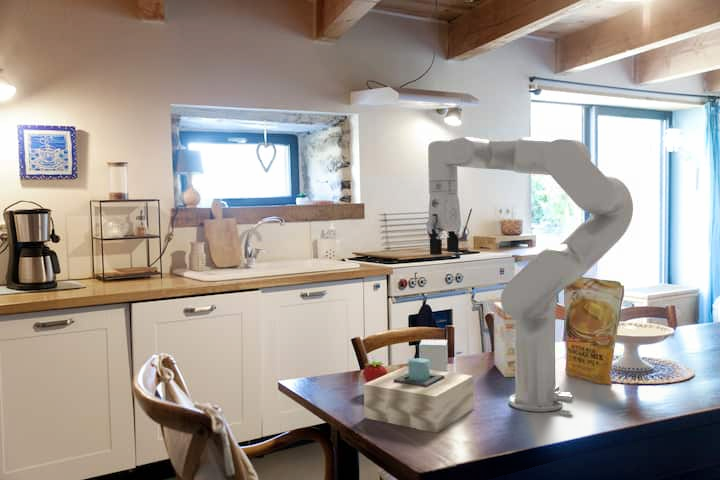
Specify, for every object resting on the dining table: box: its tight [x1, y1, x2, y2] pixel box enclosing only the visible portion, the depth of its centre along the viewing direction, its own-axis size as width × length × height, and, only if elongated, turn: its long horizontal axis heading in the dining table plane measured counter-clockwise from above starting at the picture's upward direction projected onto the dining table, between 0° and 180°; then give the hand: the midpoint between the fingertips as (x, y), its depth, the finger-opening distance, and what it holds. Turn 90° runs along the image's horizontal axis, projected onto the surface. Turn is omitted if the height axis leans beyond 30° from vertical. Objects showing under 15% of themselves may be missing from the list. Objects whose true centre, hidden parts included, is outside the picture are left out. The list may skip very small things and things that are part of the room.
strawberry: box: [363, 356, 388, 383], centre depth 165 cm, size 6×8×10 cm
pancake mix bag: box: [563, 276, 625, 386], centre depth 173 cm, size 7×19×28 cm, turn 27°
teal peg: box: [407, 357, 430, 382], centre depth 148 cm, size 5×5×7 cm
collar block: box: [363, 365, 475, 433], centre depth 148 cm, size 19×19×9 cm
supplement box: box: [418, 339, 449, 372], centre depth 168 cm, size 7×7×13 cm
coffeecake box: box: [493, 301, 516, 378], centre depth 184 cm, size 15×7×20 cm, turn 179°
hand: (444, 253), depth 164 cm, fingers open, 9 cm apart
